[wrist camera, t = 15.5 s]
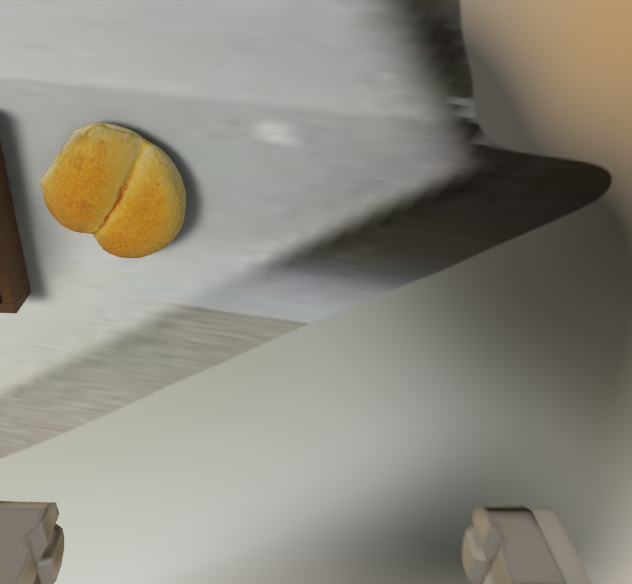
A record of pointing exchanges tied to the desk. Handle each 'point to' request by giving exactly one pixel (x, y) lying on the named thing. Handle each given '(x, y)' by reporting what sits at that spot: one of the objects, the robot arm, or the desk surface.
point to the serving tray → (10, 252)
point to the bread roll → (116, 190)
